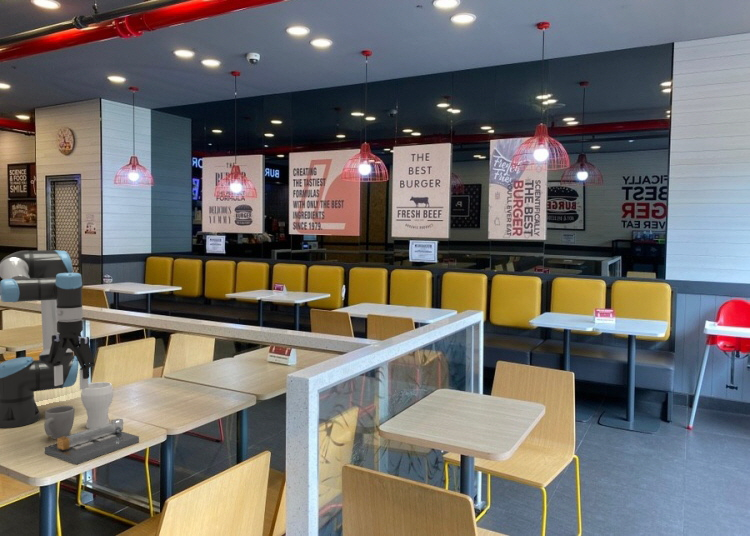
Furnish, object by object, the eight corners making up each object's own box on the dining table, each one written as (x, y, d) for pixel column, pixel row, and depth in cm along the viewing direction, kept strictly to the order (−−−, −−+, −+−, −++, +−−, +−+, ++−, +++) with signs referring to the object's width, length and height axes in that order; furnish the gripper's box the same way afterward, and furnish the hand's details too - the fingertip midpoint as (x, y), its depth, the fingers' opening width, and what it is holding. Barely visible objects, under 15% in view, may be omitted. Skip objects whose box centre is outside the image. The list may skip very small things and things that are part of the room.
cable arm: (118, 428, 198) (118, 418, 198) (125, 429, 196) (125, 419, 196) (57, 447, 179) (56, 437, 179) (63, 450, 177) (63, 439, 177)
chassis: (44, 453, 181) (44, 446, 181) (107, 433, 200) (107, 426, 200) (76, 464, 172) (76, 456, 172) (138, 442, 191) (138, 435, 191)
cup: (101, 431, 201) (100, 390, 200) (75, 429, 203) (74, 388, 203) (120, 422, 212) (119, 382, 211) (95, 420, 214) (94, 380, 213)
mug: (56, 431, 201) (55, 405, 200) (80, 432, 200) (79, 405, 200) (33, 444, 189) (32, 415, 188) (58, 445, 188) (58, 416, 188)
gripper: (33, 319, 186) (35, 386, 187) (87, 323, 178) (88, 393, 179) (53, 316, 193) (55, 380, 194) (106, 320, 185) (107, 387, 186)
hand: (71, 386), depth 187 cm, fingers open, 10 cm apart
